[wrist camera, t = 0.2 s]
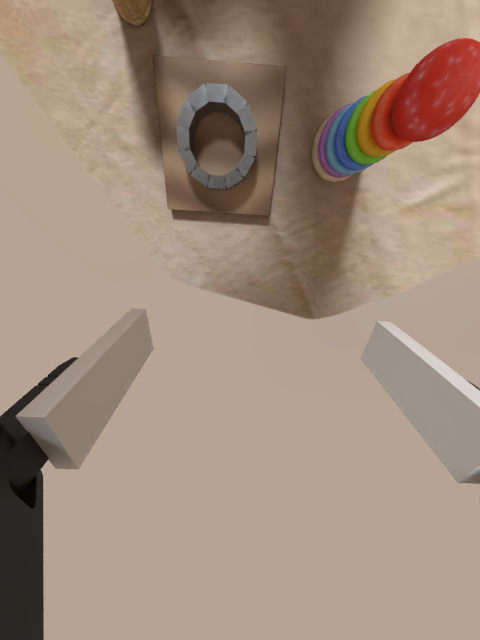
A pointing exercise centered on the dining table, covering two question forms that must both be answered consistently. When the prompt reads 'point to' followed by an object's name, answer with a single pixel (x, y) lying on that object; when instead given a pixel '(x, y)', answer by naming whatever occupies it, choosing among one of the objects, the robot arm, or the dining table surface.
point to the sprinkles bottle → (133, 10)
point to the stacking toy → (400, 112)
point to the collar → (199, 108)
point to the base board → (219, 133)
